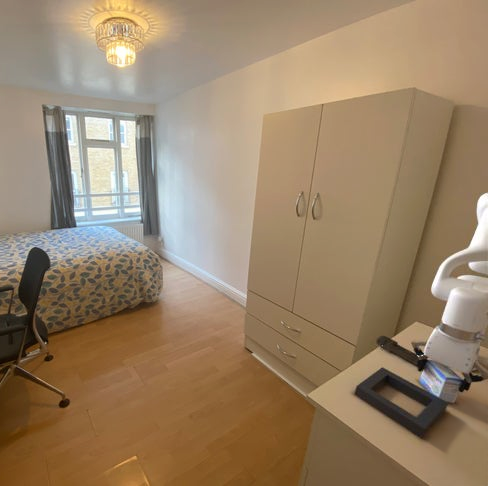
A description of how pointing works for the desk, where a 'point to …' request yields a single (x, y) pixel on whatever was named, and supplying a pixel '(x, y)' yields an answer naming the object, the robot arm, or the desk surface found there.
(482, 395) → the desk surface
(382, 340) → the hand tool
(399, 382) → the holder
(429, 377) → the medicine box
